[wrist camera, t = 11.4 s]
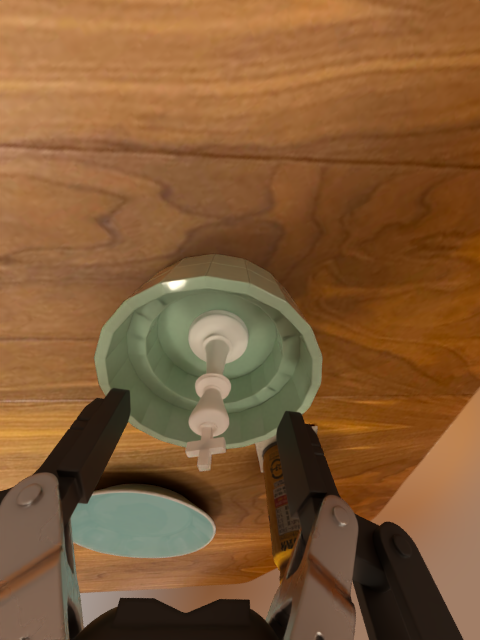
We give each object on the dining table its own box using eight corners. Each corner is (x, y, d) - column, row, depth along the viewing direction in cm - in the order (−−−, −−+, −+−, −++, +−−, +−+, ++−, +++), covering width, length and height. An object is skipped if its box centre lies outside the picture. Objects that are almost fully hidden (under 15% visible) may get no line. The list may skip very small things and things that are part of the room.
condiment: (261, 470, 28) (277, 628, 18) (252, 431, 24) (267, 603, 14) (315, 464, 28) (365, 621, 17) (316, 423, 24) (382, 594, 13)
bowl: (110, 267, 15) (45, 299, 10) (294, 239, 15) (328, 257, 9) (166, 396, 21) (143, 458, 16) (296, 380, 21) (318, 439, 15)
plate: (102, 541, 38) (93, 565, 35) (33, 474, 27) (12, 501, 25) (225, 531, 37) (225, 555, 35) (202, 460, 27) (199, 486, 24)
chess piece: (252, 355, 18) (270, 490, 10) (197, 363, 19) (166, 502, 10) (243, 304, 16) (254, 420, 7) (180, 315, 16) (119, 439, 8)
